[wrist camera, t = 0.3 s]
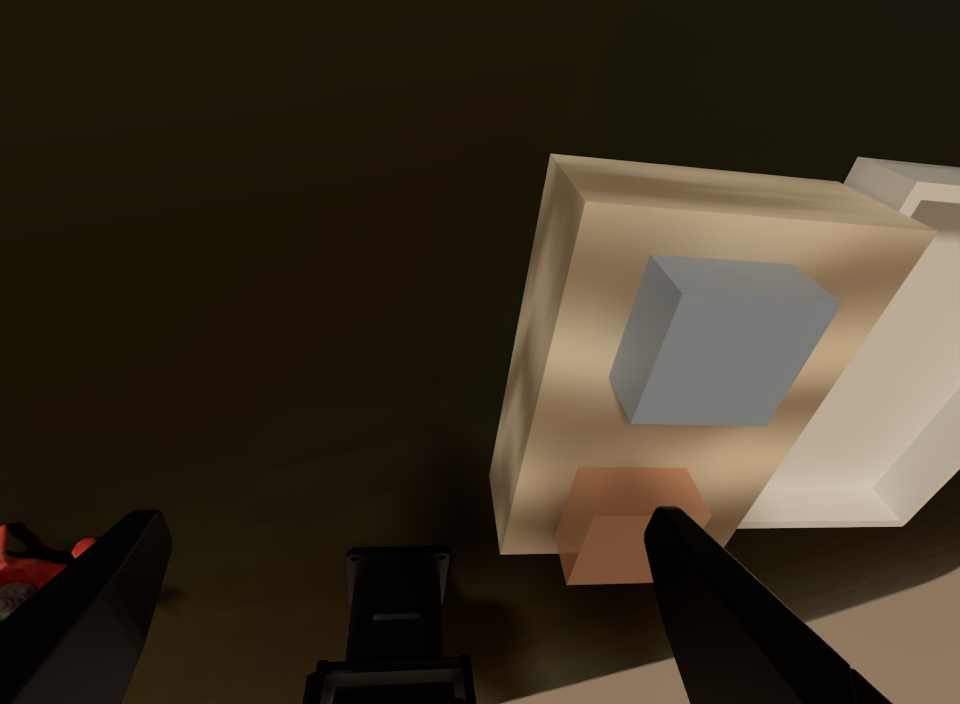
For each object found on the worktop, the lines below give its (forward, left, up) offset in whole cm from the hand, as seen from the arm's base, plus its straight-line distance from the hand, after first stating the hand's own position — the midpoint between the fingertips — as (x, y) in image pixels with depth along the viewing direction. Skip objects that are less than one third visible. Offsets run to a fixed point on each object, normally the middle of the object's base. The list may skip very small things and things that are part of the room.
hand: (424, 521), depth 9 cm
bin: (-6, -24, -14) cm, 28 cm away
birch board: (-6, -11, -13) cm, 18 cm away
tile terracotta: (-11, -10, -8) cm, 17 cm away
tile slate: (-1, -10, -9) cm, 13 cm away
